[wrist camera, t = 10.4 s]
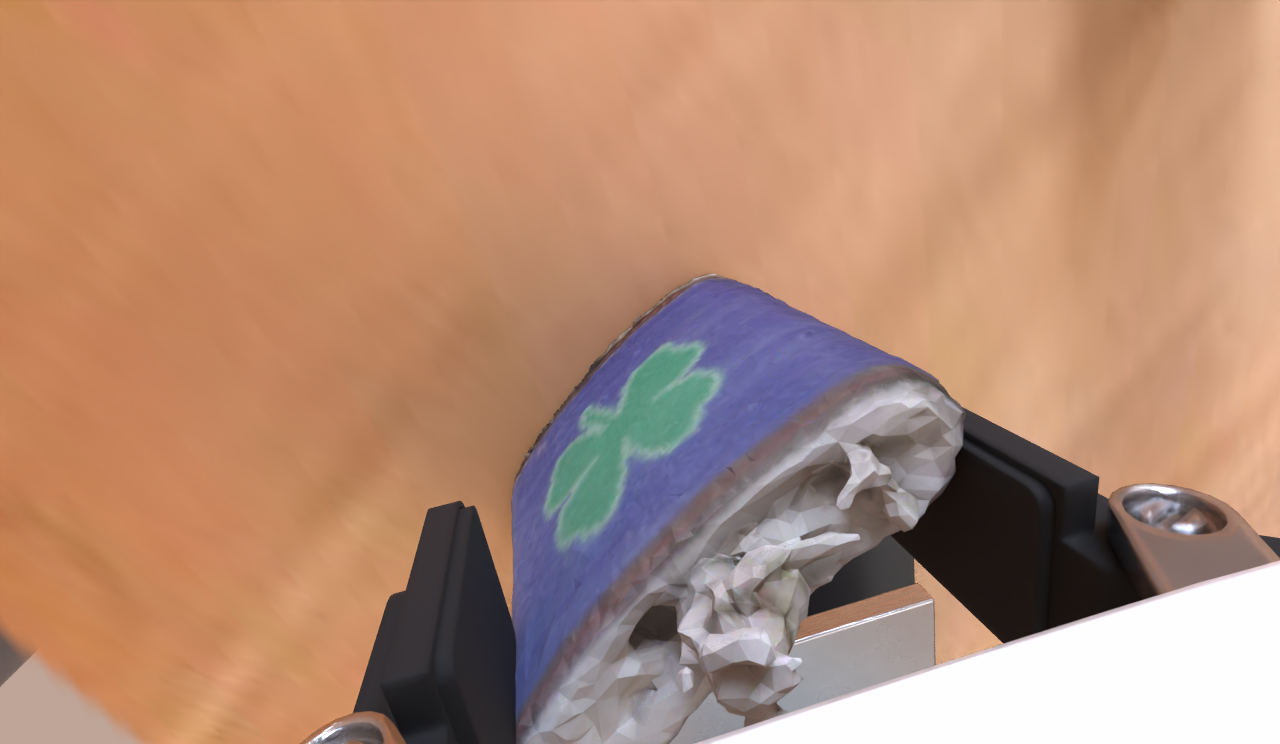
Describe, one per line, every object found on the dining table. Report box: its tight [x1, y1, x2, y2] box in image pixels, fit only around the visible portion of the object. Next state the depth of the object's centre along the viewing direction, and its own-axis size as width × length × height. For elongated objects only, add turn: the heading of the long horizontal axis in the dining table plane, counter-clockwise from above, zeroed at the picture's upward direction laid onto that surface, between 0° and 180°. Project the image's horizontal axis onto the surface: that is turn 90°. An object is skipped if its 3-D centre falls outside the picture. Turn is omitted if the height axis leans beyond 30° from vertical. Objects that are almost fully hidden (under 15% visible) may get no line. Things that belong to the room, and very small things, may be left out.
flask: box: [511, 274, 966, 744], centre depth 12 cm, size 9×3×11 cm, turn 137°
